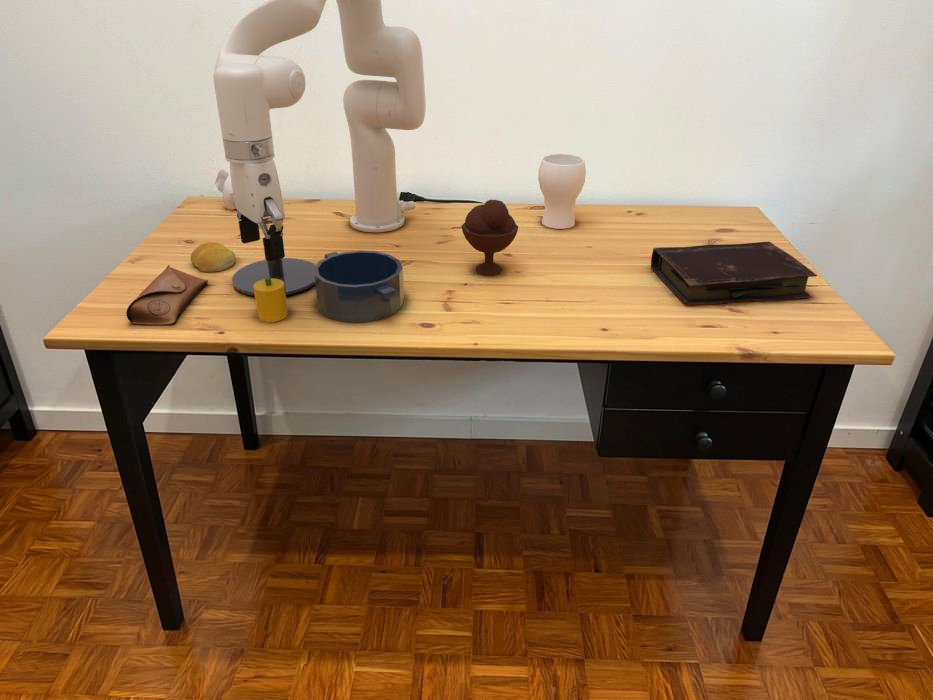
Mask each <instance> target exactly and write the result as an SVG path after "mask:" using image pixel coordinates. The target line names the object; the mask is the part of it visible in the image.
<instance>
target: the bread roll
mask: <svg viewBox="0 0 933 700" xmlns="http://www.w3.org/2000/svg"><path fill="white" fill-rule="evenodd" d="M190 261H191V263H192V265H194V267H196V268H197V269H198V270H199V271H201V272H207V273H209V272H220V271H223V270H227V269H229V268H230V267H232V266H233V265H234V263H236V254H235V252H234V251H233V250H232V249H229V248H228V247H226V245H224V244H222V243H219V242H213V241H211V242H204V243H201V244H200V245H198V246H197V247H195V249H194V250H193V251H192V252H191V254H190Z"/></svg>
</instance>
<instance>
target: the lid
mask: <svg viewBox="0 0 933 700" xmlns="http://www.w3.org/2000/svg"><path fill="white" fill-rule="evenodd" d="M316 265H317V264H315V263H313V262H311V261H308V260H305V259H302V258H301V259H300V258H292V257H284V258H281V259H277V260H273V261H269V262H268V261H267V260H266V259H263V260H259V261H254V262H252V263H249V264H246V265H243V266H242V267H241V268H239V269H238V270H236V272H235V273H234V274H233V276H232V279H231V280H232V285H233V287H234V289H236V290H237V291H239V292H241V293H243V294H246V295H249V296H254V297H255V294H254V288H253V286H254V284H255V283H256V282H258V281H260V280H263V279H265V278H267V277H270V278H271V279H279V280H282V281H283V282H284V286H285V294H286V296H288V295H292V294H296V293H301V292H303V291H305V290H307V289H309V288H311V287H313V286H315V279H314V270H313V269H314V267H315V266H316Z"/></svg>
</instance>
